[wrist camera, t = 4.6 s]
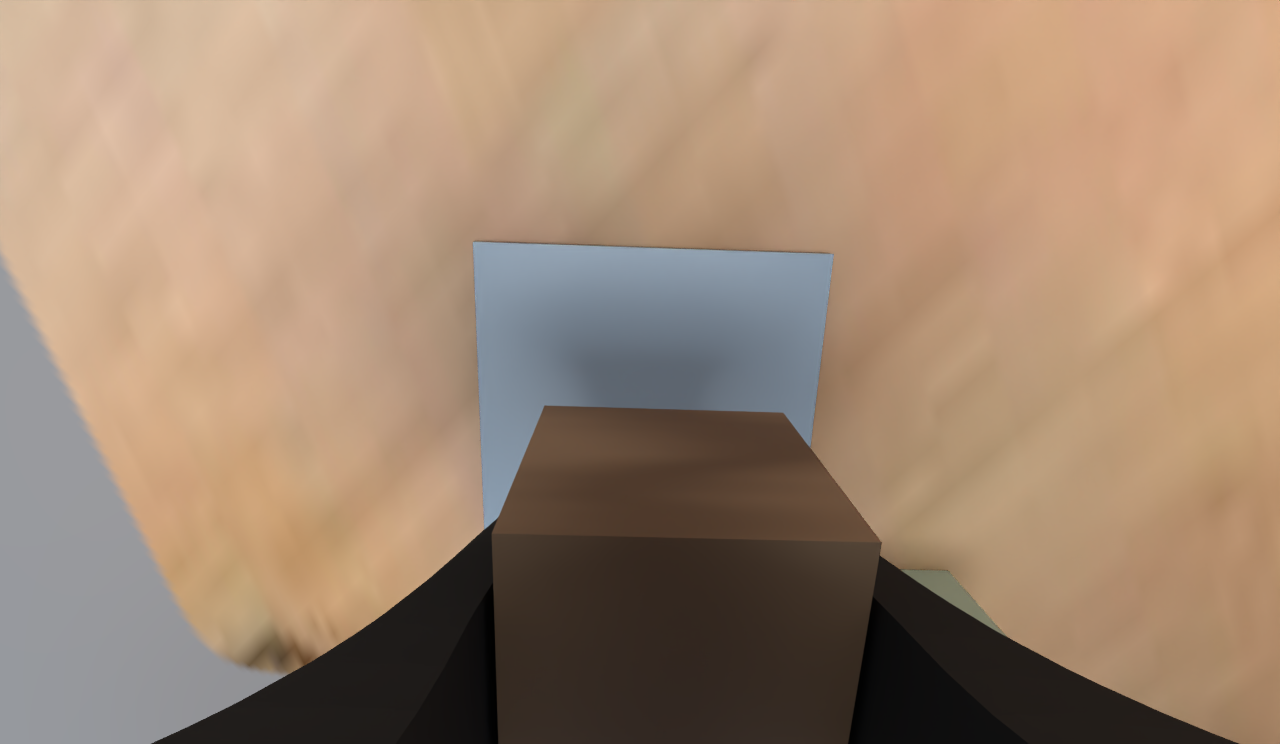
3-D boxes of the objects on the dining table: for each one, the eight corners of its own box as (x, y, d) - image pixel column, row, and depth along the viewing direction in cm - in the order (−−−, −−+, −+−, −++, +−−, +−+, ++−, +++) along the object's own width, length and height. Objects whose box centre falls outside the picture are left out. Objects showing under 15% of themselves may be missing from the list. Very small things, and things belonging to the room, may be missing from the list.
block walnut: (783, 412, 11) (881, 542, 7) (761, 615, 12) (833, 833, 8) (544, 405, 11) (491, 533, 7) (545, 610, 12) (501, 831, 8)
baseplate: (830, 253, 17) (833, 254, 17) (793, 561, 20) (795, 566, 19) (475, 241, 17) (472, 242, 16) (487, 556, 19) (485, 561, 19)
